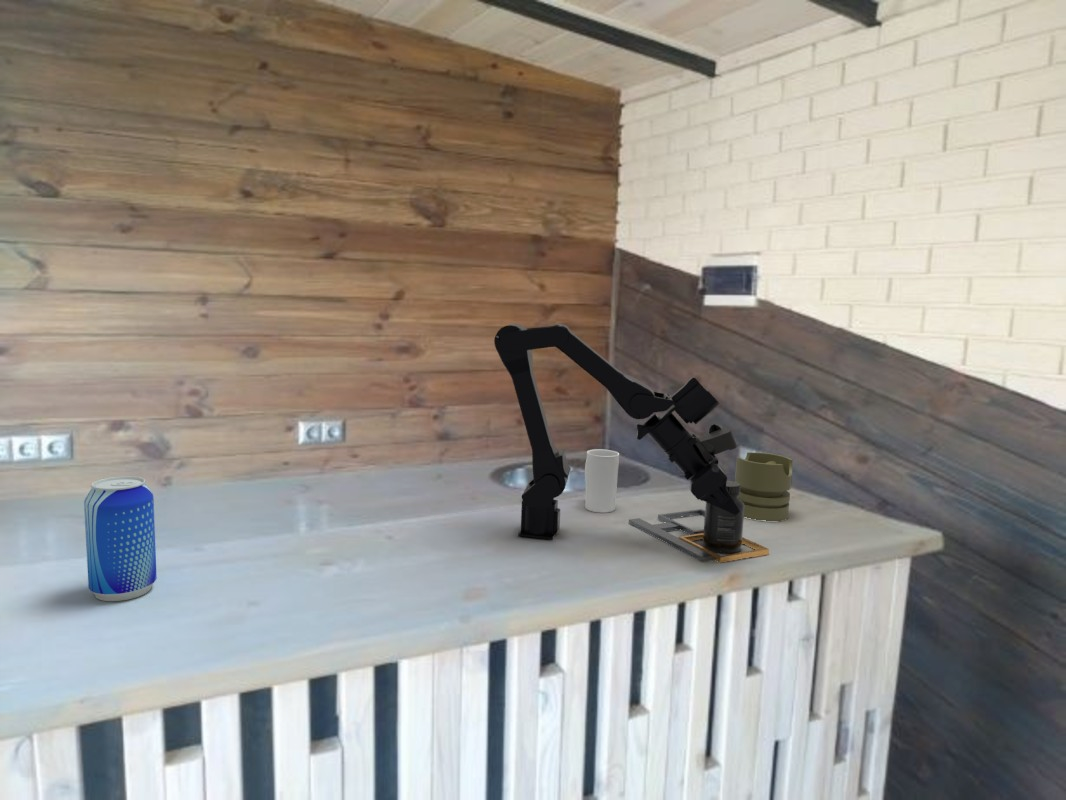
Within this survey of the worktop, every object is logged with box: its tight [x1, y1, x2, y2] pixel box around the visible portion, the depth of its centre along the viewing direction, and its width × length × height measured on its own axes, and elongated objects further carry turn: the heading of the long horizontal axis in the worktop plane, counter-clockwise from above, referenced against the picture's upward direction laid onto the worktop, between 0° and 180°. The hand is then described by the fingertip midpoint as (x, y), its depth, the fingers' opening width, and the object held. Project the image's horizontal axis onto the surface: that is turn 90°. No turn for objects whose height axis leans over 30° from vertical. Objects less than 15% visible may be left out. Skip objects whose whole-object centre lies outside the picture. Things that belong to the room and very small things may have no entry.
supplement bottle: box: [702, 480, 745, 554], centre depth 129 cm, size 7×7×12 cm
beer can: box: [83, 475, 158, 602], centre depth 101 cm, size 8×8×16 cm
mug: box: [584, 448, 620, 514], centre depth 152 cm, size 10×7×12 cm, turn 25°
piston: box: [734, 451, 794, 522], centre depth 151 cm, size 11×12×11 cm
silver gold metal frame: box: [628, 508, 770, 564], centre depth 136 cm, size 18×24×1 cm
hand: (734, 505), depth 128 cm, fingers open, 9 cm apart
